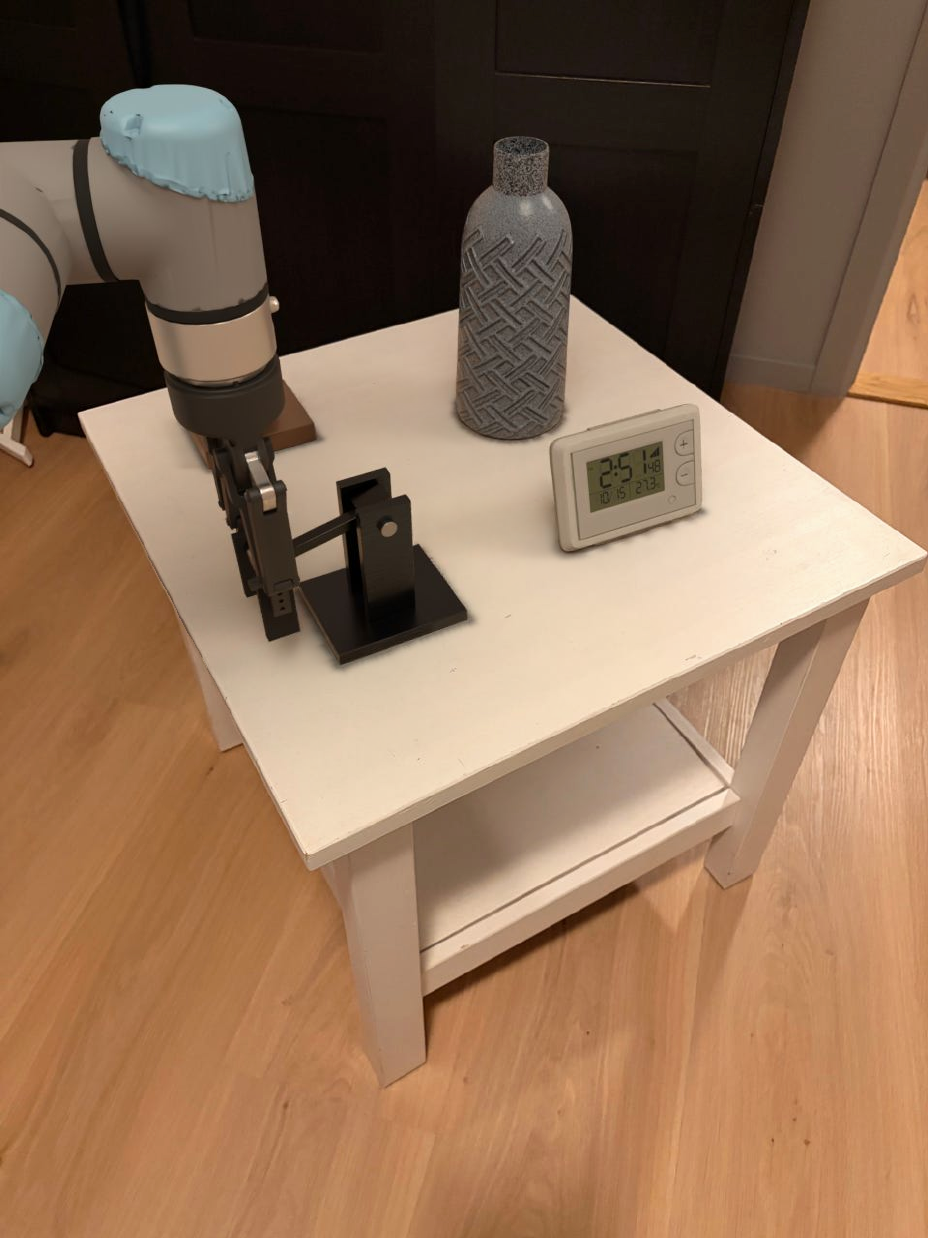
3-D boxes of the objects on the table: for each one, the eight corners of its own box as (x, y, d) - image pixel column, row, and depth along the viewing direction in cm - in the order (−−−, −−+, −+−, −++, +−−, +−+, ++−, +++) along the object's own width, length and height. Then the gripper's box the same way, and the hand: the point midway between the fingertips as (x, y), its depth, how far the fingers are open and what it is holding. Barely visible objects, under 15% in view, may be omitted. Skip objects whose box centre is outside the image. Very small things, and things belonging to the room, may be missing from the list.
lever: (269, 597, 72) (258, 577, 71) (249, 559, 76) (238, 539, 74) (405, 528, 74) (398, 507, 73) (381, 494, 78) (373, 473, 76)
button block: (208, 469, 97) (201, 437, 94) (183, 421, 103) (175, 389, 100) (316, 439, 101) (312, 407, 98) (286, 395, 107) (281, 364, 104)
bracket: (340, 665, 78) (324, 549, 68) (299, 592, 84) (280, 477, 75) (467, 619, 81) (468, 504, 72) (419, 552, 88) (414, 439, 79)
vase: (581, 428, 103) (611, 159, 82) (480, 451, 99) (486, 177, 79) (535, 374, 110) (552, 117, 90) (440, 394, 107) (436, 132, 87)
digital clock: (555, 560, 87) (565, 467, 79) (529, 502, 93) (535, 411, 86) (715, 535, 90) (739, 443, 82) (679, 480, 96) (698, 390, 88)
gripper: (324, 412, 56) (355, 668, 72) (235, 289, 67) (278, 535, 84) (203, 444, 54) (263, 702, 70) (131, 311, 65) (197, 560, 81)
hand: (271, 611), depth 77 cm, fingers closed on lever, 5 cm apart
